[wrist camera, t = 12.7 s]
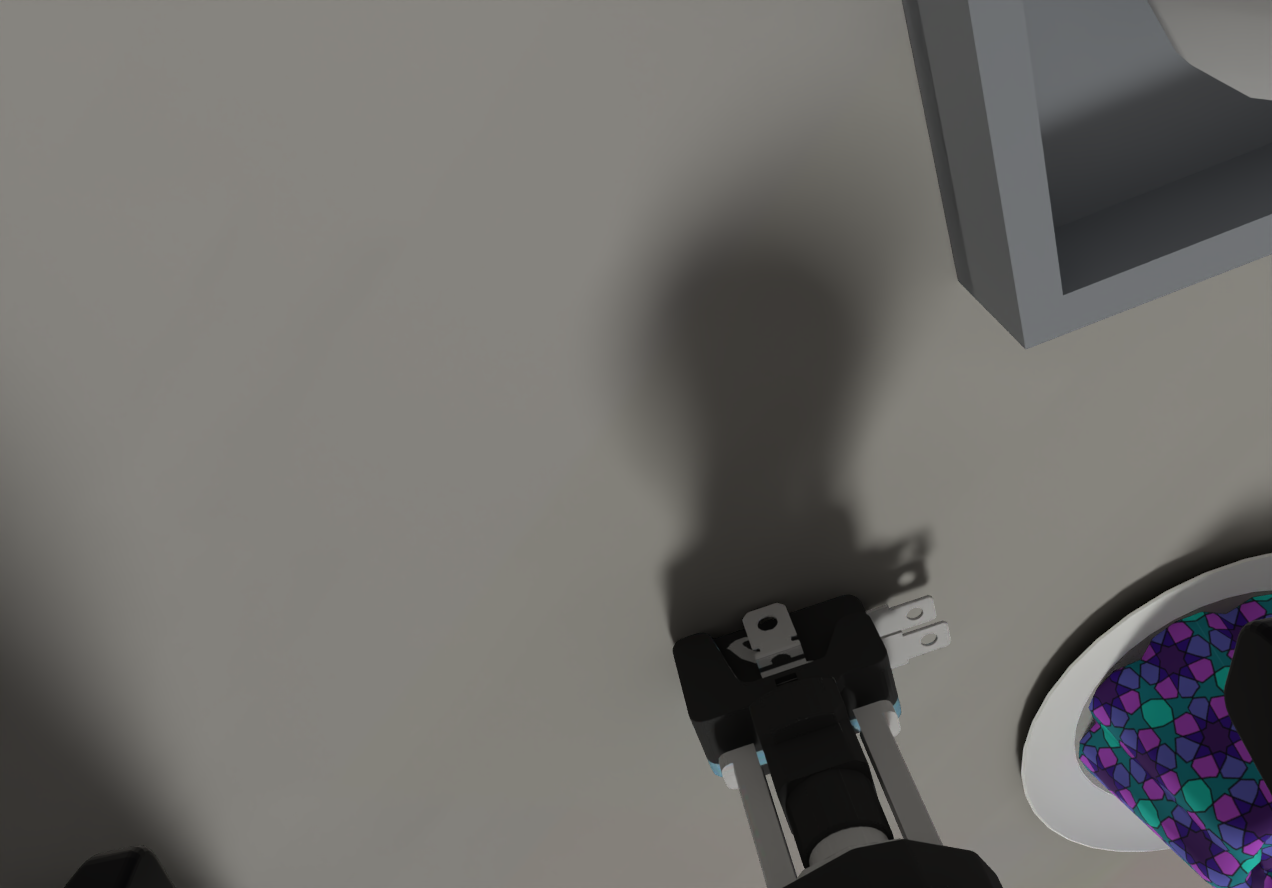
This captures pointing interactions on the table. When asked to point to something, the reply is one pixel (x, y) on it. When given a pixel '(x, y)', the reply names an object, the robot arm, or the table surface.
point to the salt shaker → (1223, 39)
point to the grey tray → (1084, 158)
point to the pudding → (1160, 738)
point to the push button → (822, 742)
